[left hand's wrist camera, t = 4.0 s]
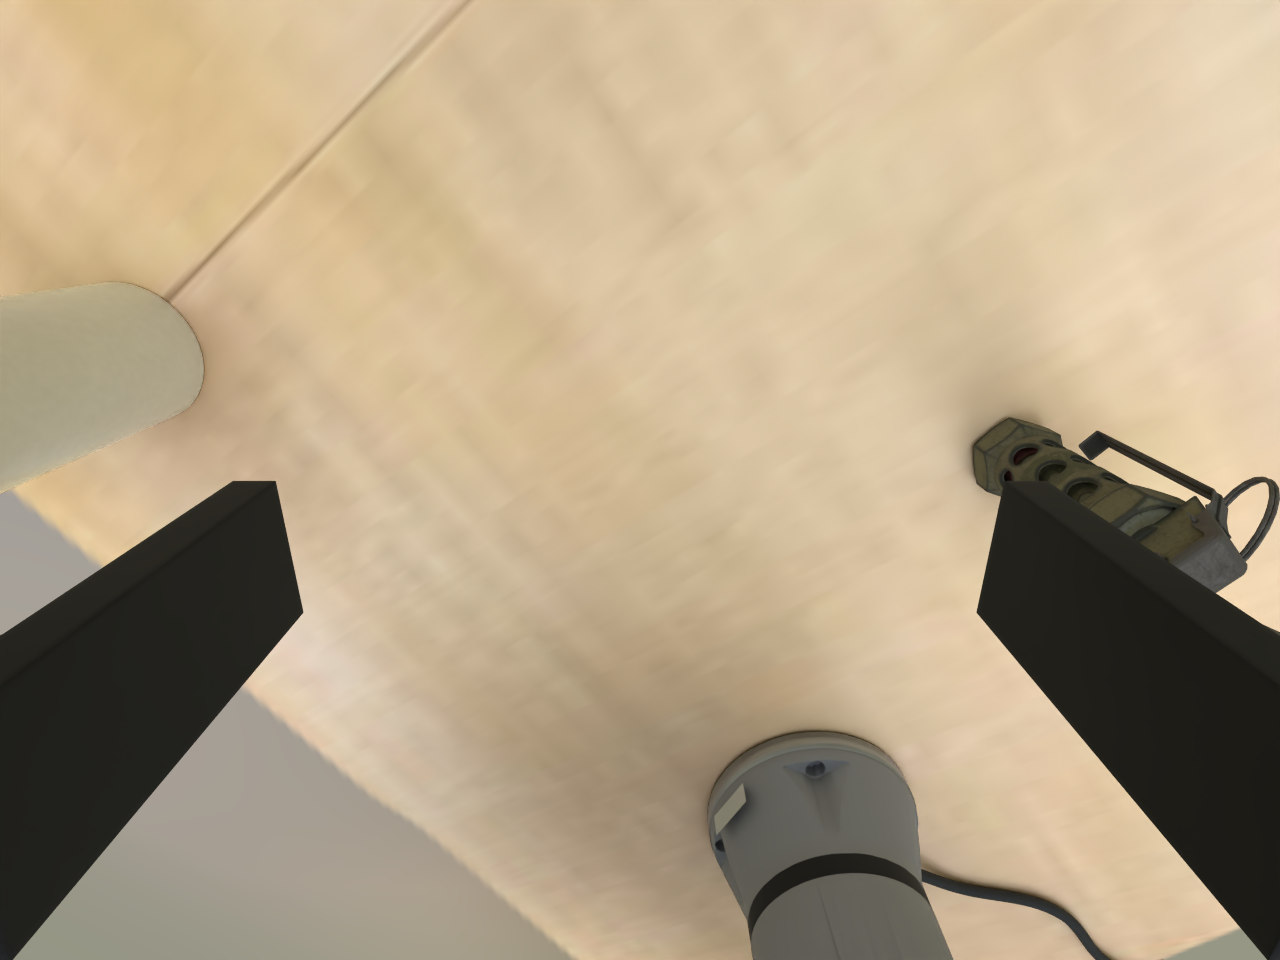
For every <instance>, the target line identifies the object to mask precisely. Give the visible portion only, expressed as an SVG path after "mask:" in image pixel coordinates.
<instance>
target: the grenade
mask: <svg viewBox="0 0 1280 960" xmlns="http://www.w3.org/2000/svg"><path fill="white" fill-rule="evenodd" d="M1109 447H1110V448H1112V449H1113V450H1115V451H1117V452H1119V453H1121V454H1123V455H1125V456H1127V457H1129V458H1131V459H1133V460H1134V461H1136V462H1138V463H1140V464H1142V465H1144V466H1146V467H1148V468H1150V469H1152V470H1154V471H1155V472H1157V473H1159V474H1161V475H1163V476H1165V477H1167V478H1169V479H1171V480H1173V481H1174V482H1176V483H1178V484H1180V485H1182V486H1184V487H1186V488H1188V489H1190V490H1192V491H1194V492H1195V493H1197V494H1199V495H1201V496H1203V497H1205V498H1207V499H1209V500H1211V503H1209V504H1208V505H1207V504H1206V505H1205V507H1206V509H1205V507H1204V506H1203V505H1202V503H1201V502H1200V501H1199V499H1198V498H1197V496H1194V497H1192V498H1191V499H1189V500H1188V501H1186V502H1185V501H1183V500H1181V499H1179V498H1177V497H1174V496H1171V495H1168V494H1165V493H1162V492H1159V491H1155V490H1152V489H1149V488H1145V487H1141V486H1137V485H1132V484H1129V483H1127V482H1126V481H1124V480H1123V479H1121V478H1119V477H1118V476H1116V475H1114V474H1112V473H1111V472H1109V471H1107V470H1105V469H1103V468H1101V467H1099V466H1096V465H1095V464H1094V463H1092V462H1090V461H1089V460H1093V459H1094V458H1095V457H1097V456H1098V455H1099V454H1101V453H1102V452H1103V451H1105V450H1106V449H1107V448H1109ZM1079 448H1080V449H1081V450H1082V451H1083V453H1084V454H1085V455H1086V456H1087V458H1088V459H1089V460H1087V459H1085V458H1084V457H1082V456H1080V455H1078V454H1076V453H1075V452H1073V451H1071V450H1068V449H1066V448H1065V447H1063V445H1062V440H1061V435H1060V434H1058V433H1056V432H1054V431H1052V430H1050V429H1048V428H1045V427H1042V426H1039V425H1036V424H1033V423H1029V422H1026V421H1022V420H1018V419H1014V418H1008V419H1006V420H1005V421H1003V422H1001V423H1000V424H998V425H997V426H995V427H994V428H993V429H991V430H990V431H989V432H988V433H986V434H985V435H984V436H983V437H982V438H981V439H980V440H979V441H978V442H977V443H976V444H975V445H974V450H973V462H974V471H975V477H976V483H977V484H978V485H979V486H980V487H981V488H983V489H984V490H985V491H986V492H989V493H992V494H995V495H998V496H1001V495H1002V490H1003V485H1004V481H1048V482H1049V483H1051V484H1052V485H1054V486H1055V487H1057V488H1058V489H1060V490H1061V491H1063V492H1064V493H1066V494H1067V495H1069V496H1070V497H1072V498H1073V499H1075V500H1076V501H1078V502H1079V503H1081V504H1082V505H1084V506H1085V507H1087V508H1088V509H1090V510H1091V511H1093V512H1094V513H1096V514H1097V515H1099V516H1100V517H1102V518H1103V519H1105V520H1106V521H1108V522H1109V523H1111V524H1112V525H1114V526H1115V527H1117V528H1118V529H1120V530H1121V531H1123V532H1124V533H1126V534H1127V535H1129V536H1130V537H1132V538H1133V539H1135V540H1136V541H1138V542H1139V543H1141V544H1142V545H1144V546H1145V547H1147V548H1148V549H1150V550H1151V551H1153V552H1154V553H1156V554H1157V555H1159V556H1160V557H1162V558H1163V559H1165V560H1166V561H1168V562H1169V563H1171V564H1172V565H1174V566H1175V567H1177V568H1178V569H1180V570H1181V571H1183V572H1184V573H1186V574H1187V575H1189V576H1190V577H1192V578H1193V579H1195V580H1196V581H1198V582H1199V583H1201V584H1202V585H1204V586H1205V587H1207V588H1208V589H1210V590H1211V591H1213V592H1214V593H1217V592H1218V591H1220V590H1221V589H1223V588H1224V587H1226V586H1227V585H1229V584H1230V583H1232V582H1233V581H1235V580H1236V579H1238V578H1239V577H1241V576H1243V575H1244V574H1245V572H1246V570H1247V563H1246V561H1247V560H1248V559H1249V558H1250V557H1251V555H1252V554H1253V553H1254V552H1255V550H1256V549H1257V548H1258V547H1259V545H1260V544H1261V542H1262V541H1263V539H1264V537H1265V536H1266V534H1267V533H1268V531H1269V529H1270V527H1271V525H1272V523H1273V520H1274V518H1275V516H1276V514H1277V510H1278V505H1279V501H1280V494H1279V487H1278V486H1277V484H1276V483H1275V482H1274V481H1273V480H1271V479H1268V478H1266V477H1254V478H1251V479H1249V480H1247V481H1244V482H1243V483H1241V484H1240V485H1239V486H1237V487H1236V488H1234V489H1233V490H1232V491H1231V492H1230V493H1229V494H1228V495H1227V496H1226V497H1224V498H1223V497H1222V495H1220V494H1218V493H1217V492H1216V491H1215V490H1214V489H1213V488H1211V487H1209V486H1207V485H1205V484H1203V483H1201V482H1199V481H1197V480H1195V479H1193V478H1191V477H1189V476H1187V475H1185V474H1183V473H1181V472H1179V471H1177V470H1175V469H1173V468H1171V467H1169V466H1167V465H1165V464H1163V463H1161V462H1159V461H1157V460H1155V459H1153V458H1151V457H1149V456H1147V455H1145V454H1143V453H1141V452H1139V451H1137V450H1135V449H1133V448H1131V447H1129V446H1127V445H1125V444H1123V443H1121V442H1119V441H1117V440H1115V439H1113V438H1111V437H1109V436H1107V435H1106V434H1104V433H1102V432H1100V431H1096V432H1095V433H1093V434H1092V435H1091V436H1089V437H1088V438H1087V439H1086V440H1084V441H1083V442H1082V443H1081V444H1079ZM1261 482H1266V483H1267V485H1268V486H1269V500H1268V505H1267V508H1266V511H1265V514H1264V517H1263V519H1262V521H1261V523H1260V524H1259V526H1258V528H1257V530H1256V532H1255V534H1254V535H1253V537H1252V538H1251V539H1250V541H1249V542H1248V544H1247V545H1246V546H1245V548H1244V549H1243V550H1242V551H1241V552H1240V553H1239V552H1238V550H1237V549H1236V547H1235V546H1234V544H1233V543H1232V541H1231V540H1230V538H1231V536H1230V535H1229V532H1228V527H1227V514H1228V508H1227V507H1228V506H1229V504H1230V503H1232V502H1233V501H1234V500H1235V499H1236V498H1237V497H1238V496H1239V495H1240V494H1241V493H1243V492H1244V491H1246V490H1247V489H1249V488H1250V487H1251V486H1254V485H1256V484H1259V483H1261ZM1229 498H1230V499H1229ZM1228 499H1229V500H1228ZM1227 500H1228V501H1227ZM1226 501H1227V502H1226ZM1271 510H1272V511H1271ZM1270 513H1271V514H1270ZM1262 530H1263V531H1262ZM1259 535H1260V536H1259Z"/></svg>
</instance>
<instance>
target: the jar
mask: <svg viewBox="0 0 1280 960" xmlns="http://www.w3.org/2000/svg"><path fill="white" fill-rule="evenodd" d="M203 376H204V362H203V357H202V352H201V349H200V346H199V343H198V341H197V338H196V336H195V334H194V333H193V331H192V329H191V327H190V326H189V325H188V323H187V322H186V320H185V319H184V318H183V317H182V316H181V315H180V313H179V312H178V311H177V310H176V309H175V308H173V307H172V306H171V305H170V304H169V303H168V302H166V301H165V300H164V299H162V298H161V297H159V296H157V295H156V294H154V293H152V292H150V291H148V290H146V289H144V288H141V287H138V286H135V285H132V284H127V283H122V282H103V283H95V284H87V285H80V286H73V287H65V288H58V289H50V290H43V291H35V292H28V293H20V294H13V295H6V296H0V494H1V493H3V492H6V491H8V490H10V489H12V488H15V487H17V486H19V485H21V484H24V483H26V482H28V481H30V480H33V479H35V478H37V477H39V476H42V475H44V474H46V473H48V472H51V471H53V470H55V469H58V468H60V467H62V466H64V465H67V464H69V463H71V462H73V461H76V460H78V459H80V458H82V457H85V456H87V455H89V454H91V453H94V452H96V451H98V450H100V449H103V448H105V447H107V446H109V445H112V444H114V443H116V442H118V441H121V440H123V439H125V438H127V437H130V436H132V435H134V434H136V433H139V432H141V431H143V430H145V429H148V428H150V427H152V426H155V425H157V424H159V423H161V422H164V421H166V420H168V419H170V418H173V417H175V416H177V415H179V414H180V413H182V412H183V411H185V410H186V409H187V408H189V406H190V405H191V404H192V403H193V402H194V401H195V399H196V397H197V396H198V394H199V391H200V389H201V386H202V382H203Z"/></svg>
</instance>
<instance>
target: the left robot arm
mask: <svg viewBox="0 0 1280 960" xmlns="http://www.w3.org/2000/svg"><path fill="white" fill-rule="evenodd" d="M302 614H303V608H302V604H301V599H300V594H299V589H298V585H297V580H296V575H295V570H294V566H293V561H292V556H291V552H290V547H289V542H288V537H287V533H286V528H285V523H284V518H283V514H282V509H281V504H280V500H279V495H278V490H277V485H276V481H232V482H231V483H229V484H228V485H226V486H225V487H223V488H222V489H220V490H219V491H217V492H216V493H214V494H213V495H211V496H210V497H208V498H207V499H205V500H204V501H202V502H201V503H199V504H198V505H196V506H195V507H193V508H192V509H190V510H189V511H187V512H186V513H184V514H183V515H181V516H180V517H178V518H177V519H175V520H174V521H172V522H171V523H169V524H168V525H166V526H165V527H163V528H162V529H160V530H159V531H157V532H156V533H154V534H153V535H151V536H150V537H148V538H147V539H145V540H144V541H142V542H141V543H139V544H138V545H136V546H135V547H133V548H132V549H130V550H129V551H127V552H126V553H124V554H123V555H121V556H120V557H118V558H117V559H115V560H114V561H112V562H111V563H109V564H108V565H106V566H105V567H103V568H102V569H100V570H99V571H97V572H96V573H94V574H93V575H91V576H90V577H88V578H87V579H85V580H84V581H82V582H81V583H79V584H78V585H76V586H75V587H73V588H72V589H70V590H69V591H67V592H66V593H64V594H63V595H61V596H60V597H58V598H57V599H55V600H54V601H52V602H51V603H49V604H48V605H46V606H45V607H43V608H41V609H40V610H39V611H37V612H35V613H34V614H33V615H31V616H29V617H28V618H26V619H25V620H23V621H22V622H20V623H19V624H17V625H16V626H14V627H13V628H11V629H10V630H8V631H7V632H5V633H4V634H2V635H0V960H13V959H14V958H15V956H16V955H17V954H18V953H19V952H20V950H21V949H22V948H23V947H24V946H25V944H26V943H27V942H28V941H29V940H30V938H31V937H32V936H33V935H34V934H35V933H36V931H37V930H38V929H39V928H40V926H41V925H42V924H43V923H44V922H45V921H46V919H47V918H48V917H49V916H50V915H51V913H52V912H53V911H54V910H55V909H56V907H57V906H58V905H59V904H60V903H61V901H62V900H63V899H64V898H65V897H66V895H67V894H68V893H69V892H70V891H71V890H72V888H73V887H74V886H75V885H76V884H77V882H78V881H79V880H80V879H81V878H82V876H83V875H84V874H85V873H86V872H87V870H88V869H89V868H90V867H91V866H92V864H93V863H94V862H95V861H96V860H97V858H98V857H99V856H100V855H101V854H102V852H103V851H104V850H105V849H106V848H107V846H108V845H109V844H110V843H111V842H112V841H113V839H114V838H115V837H116V836H117V835H118V833H119V832H120V831H121V830H122V829H123V827H124V826H125V825H126V824H127V823H128V821H129V820H130V819H131V818H132V817H133V815H134V814H135V813H136V812H137V811H138V809H139V808H140V807H141V806H142V805H143V803H144V802H145V801H146V800H147V799H148V797H149V796H150V795H151V794H152V793H153V792H154V790H155V789H156V788H157V787H158V786H159V784H160V783H161V782H162V781H163V780H164V778H165V777H166V776H167V775H168V774H169V772H170V771H171V770H172V769H173V768H174V766H175V765H176V764H177V763H178V762H179V760H180V759H181V758H182V757H183V756H184V754H185V753H186V752H187V751H188V750H189V748H190V747H191V746H192V745H193V744H194V742H195V741H196V740H197V739H198V738H199V737H200V735H201V734H202V733H203V732H204V731H205V729H206V728H207V727H208V726H209V725H210V723H211V722H212V721H213V720H214V719H215V717H216V716H217V715H218V714H219V713H220V712H221V710H222V709H223V708H224V707H225V706H226V704H227V703H228V702H229V701H230V699H231V698H232V697H233V696H234V695H235V694H236V692H237V691H238V690H239V689H240V688H241V686H242V685H243V684H244V683H245V682H246V680H247V679H248V678H249V677H250V676H251V674H252V673H253V672H254V671H255V670H256V668H257V667H258V666H259V665H260V664H261V663H262V661H263V660H264V659H265V658H266V657H267V655H268V654H269V653H270V652H271V651H272V649H273V648H274V647H275V646H276V645H277V643H278V642H279V641H280V640H281V639H282V637H283V636H284V635H285V634H286V633H287V631H288V630H289V629H290V628H291V627H292V625H293V624H294V623H295V622H296V621H297V620H298V618H299V617H300V616H301V615H302ZM977 614H978V615H979V616H980V617H981V618H982V620H983V621H984V622H985V623H986V624H987V625H988V627H989V628H990V629H991V630H992V631H993V633H994V634H995V635H996V636H997V637H998V639H999V640H1000V641H1001V642H1002V643H1003V645H1004V646H1005V647H1006V648H1007V649H1008V651H1009V652H1010V653H1011V654H1012V655H1013V657H1014V658H1015V659H1016V660H1017V661H1018V663H1019V664H1020V665H1021V666H1022V667H1023V668H1024V670H1025V671H1026V672H1027V673H1028V674H1029V676H1030V677H1031V678H1032V679H1033V680H1034V682H1035V683H1036V684H1037V685H1038V686H1039V688H1040V689H1041V690H1042V691H1043V692H1044V694H1045V695H1046V696H1047V697H1048V698H1049V700H1050V701H1051V702H1052V703H1053V704H1054V706H1055V707H1056V708H1057V709H1058V710H1059V712H1060V713H1061V714H1062V715H1063V716H1064V717H1065V719H1066V720H1067V721H1068V722H1069V723H1070V725H1071V726H1072V727H1073V728H1074V729H1075V731H1076V732H1077V733H1078V734H1079V735H1080V737H1081V738H1082V739H1083V740H1084V741H1085V743H1086V744H1087V745H1088V746H1089V747H1090V749H1091V750H1092V751H1093V752H1094V753H1095V755H1096V756H1097V757H1098V758H1099V759H1100V760H1101V762H1102V763H1103V764H1104V765H1105V766H1106V768H1107V769H1108V770H1109V771H1110V772H1111V774H1112V775H1113V776H1114V777H1115V778H1116V780H1117V781H1118V782H1119V783H1120V784H1121V786H1122V787H1123V788H1124V789H1125V790H1126V792H1127V793H1128V794H1129V795H1130V796H1131V798H1132V799H1133V800H1134V801H1135V802H1136V803H1137V805H1138V806H1139V807H1140V808H1141V809H1142V811H1143V812H1144V813H1145V814H1146V815H1147V817H1148V818H1149V819H1150V820H1151V821H1152V823H1153V824H1154V825H1155V826H1156V827H1157V829H1158V830H1159V831H1160V832H1161V833H1162V835H1163V836H1164V837H1165V838H1166V839H1167V841H1168V842H1169V843H1170V844H1171V845H1172V847H1173V848H1174V849H1175V850H1176V851H1177V852H1178V854H1179V855H1180V856H1181V857H1182V858H1183V860H1184V861H1185V862H1186V863H1187V864H1188V866H1189V867H1190V868H1191V869H1192V870H1193V872H1194V873H1195V874H1196V875H1197V876H1198V878H1199V879H1200V880H1201V881H1202V882H1203V884H1204V885H1205V886H1206V887H1207V888H1208V890H1209V891H1210V892H1211V893H1212V894H1213V895H1214V897H1215V898H1216V899H1217V900H1218V901H1219V903H1220V904H1221V905H1222V906H1223V907H1224V909H1225V910H1226V911H1227V912H1228V913H1229V915H1230V916H1231V917H1232V918H1233V919H1234V921H1235V922H1236V923H1237V924H1238V925H1239V927H1240V928H1241V929H1242V930H1243V931H1244V933H1245V934H1246V935H1247V936H1248V937H1249V938H1250V940H1251V941H1252V942H1253V943H1254V944H1255V946H1256V947H1257V948H1258V949H1259V950H1260V952H1261V953H1262V954H1263V955H1264V956H1265V958H1266V959H1267V960H1280V632H1278V631H1276V630H1274V629H1271V628H1269V627H1267V626H1265V625H1263V624H1261V623H1260V622H1258V621H1257V620H1255V619H1254V618H1252V617H1251V616H1249V615H1248V614H1246V613H1245V612H1243V611H1242V610H1240V609H1239V608H1237V607H1235V606H1234V605H1232V604H1231V603H1229V602H1228V601H1226V600H1225V599H1223V598H1222V597H1220V596H1219V595H1217V594H1216V593H1214V592H1213V591H1211V590H1210V589H1208V588H1207V587H1205V586H1204V585H1202V584H1201V583H1199V582H1198V581H1196V580H1195V579H1193V578H1192V577H1190V576H1189V575H1187V574H1186V573H1184V572H1183V571H1181V570H1180V569H1178V568H1177V567H1175V566H1174V565H1172V564H1171V563H1169V562H1168V561H1166V560H1165V559H1163V558H1162V557H1160V556H1159V555H1157V554H1156V553H1154V552H1153V551H1151V550H1150V549H1148V548H1147V547H1145V546H1144V545H1142V544H1141V543H1139V542H1138V541H1136V540H1135V539H1133V538H1132V537H1130V536H1129V535H1127V534H1126V533H1124V532H1123V531H1121V530H1120V529H1118V528H1117V527H1115V526H1114V525H1112V524H1111V523H1109V522H1108V521H1106V520H1105V519H1103V518H1102V517H1100V516H1099V515H1097V514H1096V513H1094V512H1093V511H1091V510H1090V509H1088V508H1087V507H1085V506H1084V505H1082V504H1081V503H1079V502H1078V501H1076V500H1075V499H1073V498H1072V497H1070V496H1069V495H1067V494H1066V493H1064V492H1063V491H1061V490H1060V489H1058V488H1057V487H1055V486H1054V485H1052V484H1051V483H1049V482H1048V481H1004V485H1003V490H1002V495H1001V500H1000V504H999V509H998V514H997V518H996V523H995V528H994V533H993V537H992V542H991V547H990V552H989V556H988V561H987V566H986V570H985V575H984V580H983V585H982V589H981V594H980V599H979V604H978V608H977Z"/></svg>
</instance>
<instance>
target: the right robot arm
mask: <svg viewBox="0 0 1280 960" xmlns="http://www.w3.org/2000/svg"><path fill="white" fill-rule="evenodd" d="M708 825H709V834H710V841H711V845H712V849H713V852H714V854H715V857H716V859H717V861H718V863H719V865H720V867H721V870H722V872H723V874H724V876H725V878H726V880H727V882H728V884H729V885H730V887H731V889H732V891H733V893H734V895H735V897H736V899H737V901H738V903H739V905H740V907H741V909H742V911H743V913H744V915H745V917H746V919H747V922H748V928H749V935H750V941H751V949H752V956H753V960H953V958H952V955H951V953H950V950H949V948H948V945H947V943H946V941H945V938H944V936H943V933H942V931H941V928H940V926H939V924H938V921H937V919H936V916H935V914H934V912H933V910H932V907H931V905H930V902H929V900H928V898H927V895H926V893H925V890H924V888H923V885H922V882H925V883H928V884H931V885H934V886H936V887H939V888H942V889H945V890H948V891H952V892H955V893H959V894H963V895H967V896H972V897H977V898H983V899H989V900H996V901H1002V902H1009V903H1014V904H1020V905H1024V906H1028V907H1032V908H1035V909H1039V910H1041V911H1044V912H1047V913H1049V914H1051V915H1053V916H1055V917H1057V918H1059V919H1060V920H1062V921H1063V922H1065V923H1066V924H1067V925H1068V926H1069V927H1070V928H1071V929H1072V930H1073V932H1074V933H1075V934H1076V935H1077V937H1078V938H1079V940H1080V941H1081V942H1082V944H1083V945H1084V947H1085V948H1086V949H1087V951H1088V952H1089V953H1090V954H1091V955H1092V956H1093V958H1094V959H1095V960H1110V959H1109V958H1108V957H1106V956H1105V955H1104V954H1103V953H1102V952H1101V951H1100V950H1099V949H1098V948H1097V946H1096V945H1095V944H1094V942H1093V941H1092V940H1091V938H1090V937H1089V935H1088V934H1087V932H1086V931H1085V930H1084V928H1083V927H1082V926H1081V925H1080V923H1079V922H1078V921H1077V920H1076V919H1075V918H1074V917H1072V916H1071V915H1070V914H1069V913H1067V912H1066V911H1064V910H1063V909H1061V908H1060V907H1058V906H1056V905H1054V904H1052V903H1050V902H1048V901H1045V900H1043V899H1040V898H1037V897H1034V896H1030V895H1026V894H1022V893H1017V892H1011V891H1005V890H999V889H992V888H986V887H980V886H974V885H970V884H965V883H961V882H957V881H954V880H951V879H947V878H944V877H942V876H939V875H936V874H933V873H931V872H928V871H925V870H922V869H921V860H920V848H919V838H918V817H917V811H916V805H915V801H914V798H913V796H912V793H911V791H910V789H909V787H908V785H907V782H906V780H905V778H904V776H903V774H902V772H901V771H900V769H899V767H898V766H897V765H896V764H895V762H894V761H893V760H892V759H891V758H890V757H889V756H888V755H887V754H885V753H884V752H883V751H882V750H880V749H879V748H877V747H875V746H874V745H872V744H870V743H868V742H866V741H863V740H861V739H858V738H856V737H852V736H849V735H844V734H840V733H832V732H803V733H795V734H790V735H785V736H782V737H778V738H775V739H772V740H769V741H767V742H764V743H762V744H760V745H758V746H756V747H754V748H752V749H750V750H749V751H747V752H746V753H744V754H743V755H741V756H740V757H739V758H738V759H736V760H735V761H734V762H733V763H732V764H731V765H730V766H729V767H728V768H727V769H726V770H725V771H724V772H723V774H722V775H721V776H720V778H719V779H718V781H717V783H716V784H715V786H714V788H713V791H712V793H711V796H710V800H709V804H708ZM1162 960H1164V959H1162Z"/></svg>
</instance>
